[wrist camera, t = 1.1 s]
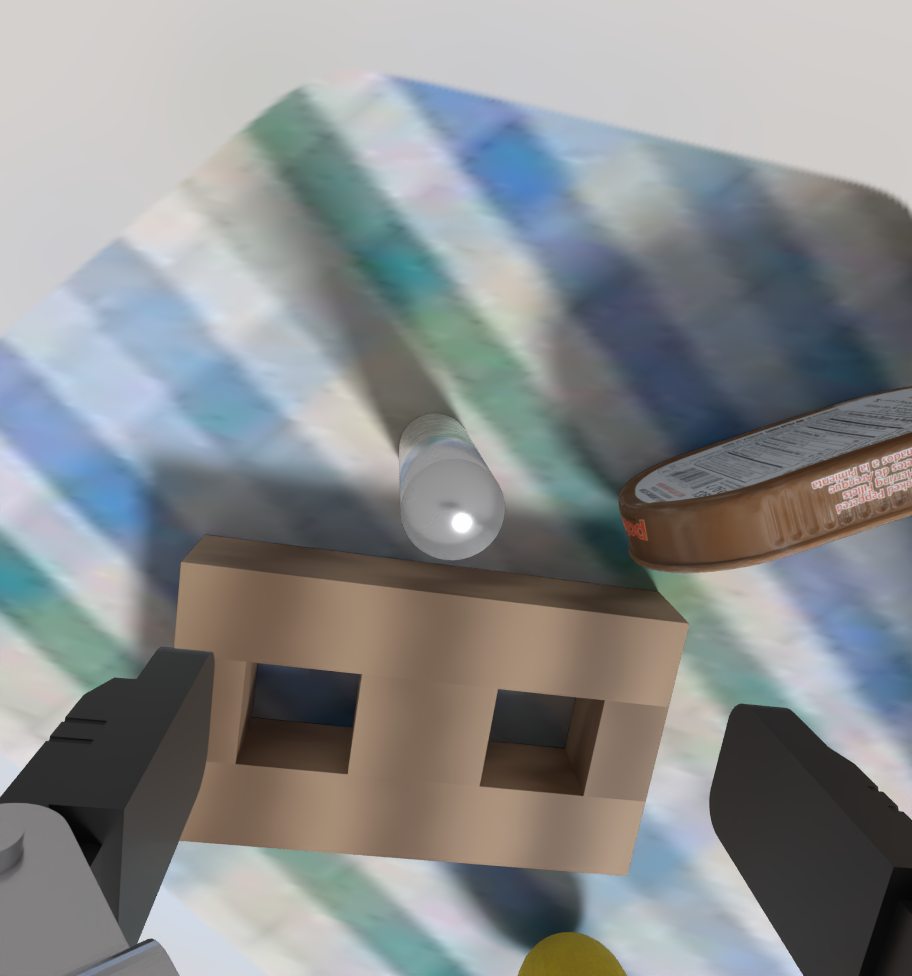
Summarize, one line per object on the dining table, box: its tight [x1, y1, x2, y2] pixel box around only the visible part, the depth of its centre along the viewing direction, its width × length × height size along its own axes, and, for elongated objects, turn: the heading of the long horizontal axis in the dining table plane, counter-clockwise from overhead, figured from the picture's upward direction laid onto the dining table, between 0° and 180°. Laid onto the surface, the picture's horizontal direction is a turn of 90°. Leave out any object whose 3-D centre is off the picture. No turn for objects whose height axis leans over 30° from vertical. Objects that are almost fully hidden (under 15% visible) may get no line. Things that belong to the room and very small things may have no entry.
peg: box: [399, 413, 505, 560], centre depth 26 cm, size 3×3×10 cm
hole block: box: [174, 535, 689, 876], centre depth 31 cm, size 20×12×4 cm, turn 81°
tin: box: [619, 386, 912, 573], centre depth 28 cm, size 15×3×8 cm, turn 108°
